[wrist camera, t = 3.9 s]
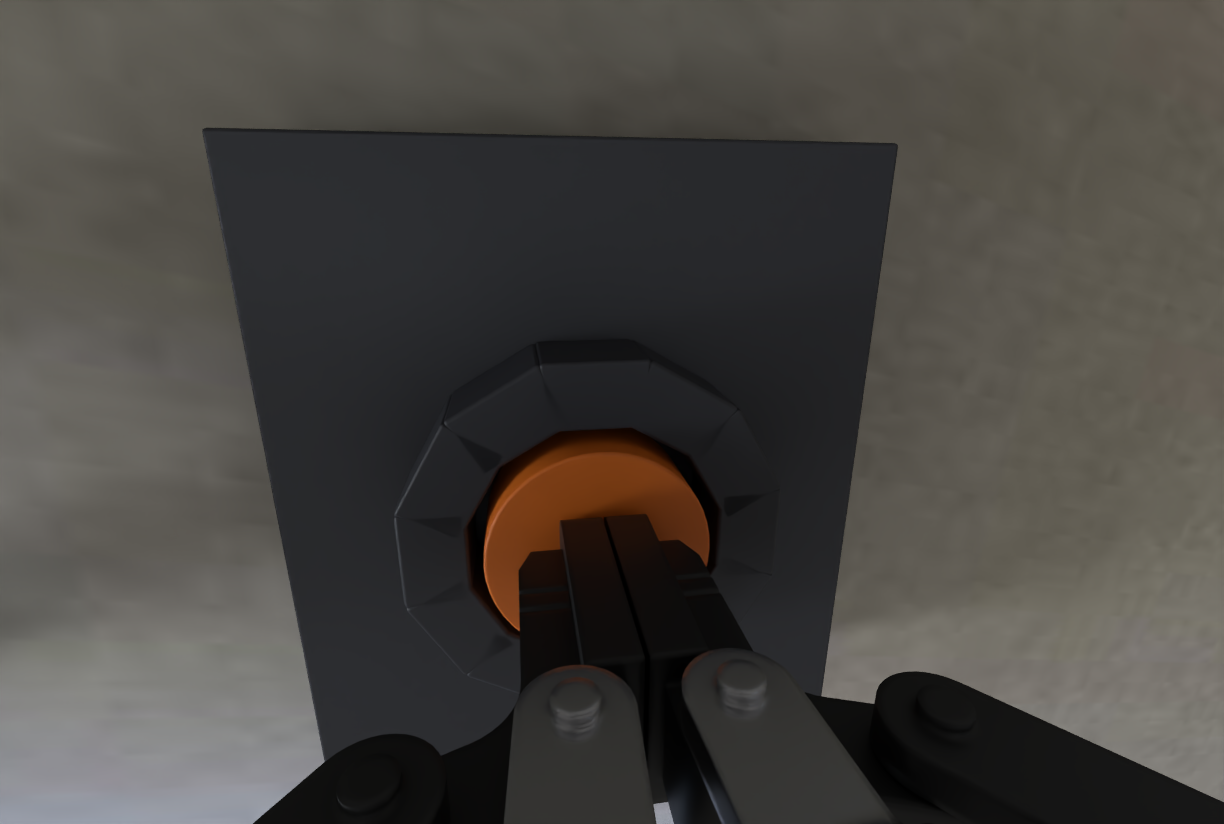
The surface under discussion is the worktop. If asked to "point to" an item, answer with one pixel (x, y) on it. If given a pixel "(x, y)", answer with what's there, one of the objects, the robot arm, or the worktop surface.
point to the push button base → (540, 376)
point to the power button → (582, 500)
